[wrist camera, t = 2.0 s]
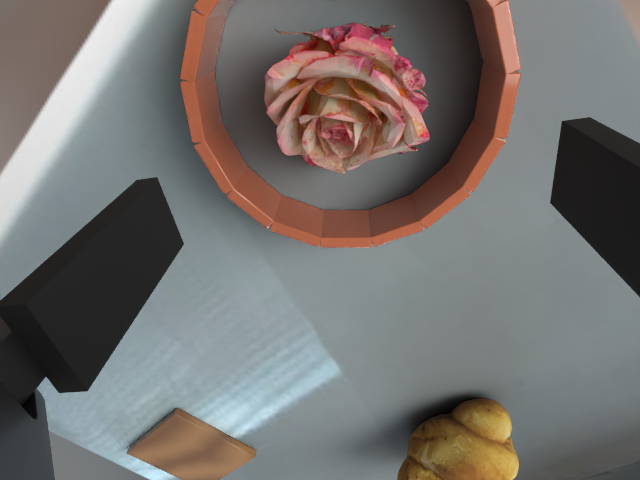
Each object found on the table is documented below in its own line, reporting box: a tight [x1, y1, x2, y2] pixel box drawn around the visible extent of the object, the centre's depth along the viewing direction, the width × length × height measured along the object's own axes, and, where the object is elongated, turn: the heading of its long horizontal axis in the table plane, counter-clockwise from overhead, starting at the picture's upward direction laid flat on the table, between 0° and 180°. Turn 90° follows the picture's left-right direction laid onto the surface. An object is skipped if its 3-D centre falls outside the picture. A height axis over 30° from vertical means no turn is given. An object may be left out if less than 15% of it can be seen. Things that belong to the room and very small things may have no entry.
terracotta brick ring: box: [180, 0, 521, 248], centre depth 24 cm, size 18×18×4 cm
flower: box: [264, 21, 430, 174], centre depth 22 cm, size 10×9×8 cm
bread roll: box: [397, 399, 519, 480], centre depth 39 cm, size 13×10×8 cm
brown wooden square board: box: [127, 408, 256, 480], centre depth 47 cm, size 11×11×1 cm
